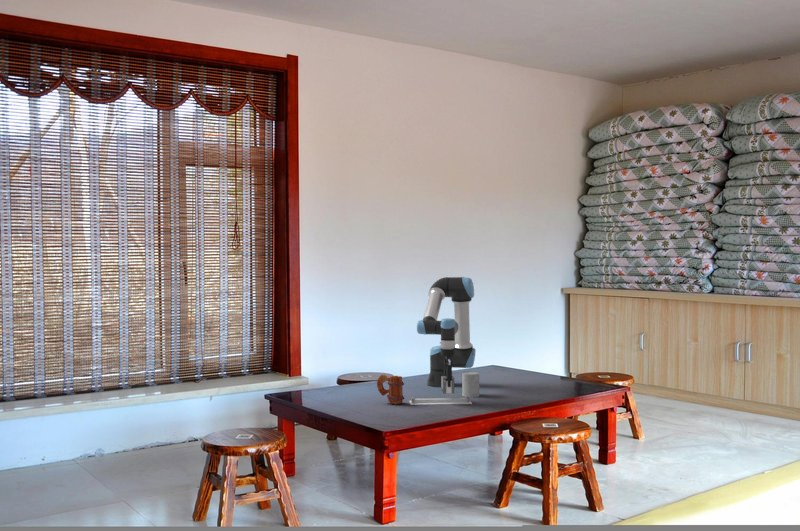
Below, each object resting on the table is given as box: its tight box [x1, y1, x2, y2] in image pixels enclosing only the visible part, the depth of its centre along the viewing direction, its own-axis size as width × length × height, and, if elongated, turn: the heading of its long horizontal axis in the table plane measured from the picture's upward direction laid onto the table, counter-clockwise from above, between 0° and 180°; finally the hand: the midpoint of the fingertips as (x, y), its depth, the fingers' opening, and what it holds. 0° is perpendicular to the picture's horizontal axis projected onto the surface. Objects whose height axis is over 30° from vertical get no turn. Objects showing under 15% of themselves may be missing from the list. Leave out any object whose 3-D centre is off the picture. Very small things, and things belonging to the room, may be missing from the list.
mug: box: [376, 374, 405, 405], centre depth 405 cm, size 15×8×15 cm, turn 73°
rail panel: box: [408, 396, 473, 406], centre depth 406 cm, size 9×32×3 cm, turn 94°
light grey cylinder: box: [461, 371, 480, 398], centre depth 426 cm, size 10×10×12 cm
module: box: [440, 375, 455, 394], centre depth 406 cm, size 7×6×8 cm
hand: (447, 391), depth 406 cm, fingers closed on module, 7 cm apart
